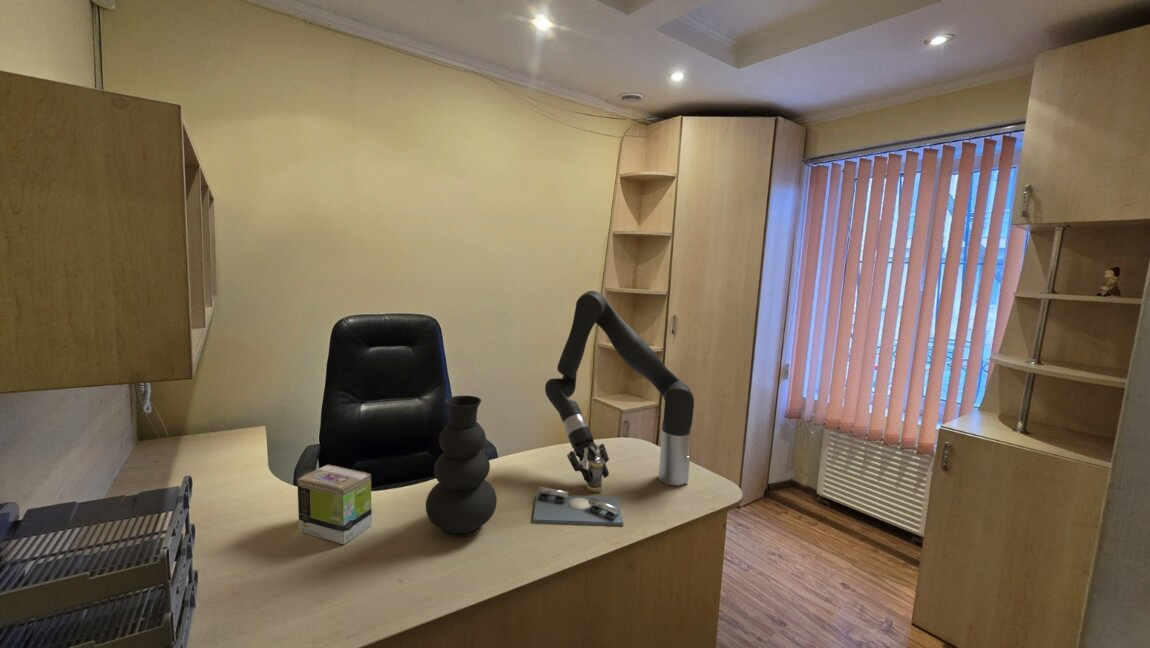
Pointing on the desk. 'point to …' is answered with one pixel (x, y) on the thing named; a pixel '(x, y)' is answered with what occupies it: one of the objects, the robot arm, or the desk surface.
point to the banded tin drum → (595, 474)
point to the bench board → (574, 511)
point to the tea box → (334, 503)
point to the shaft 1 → (552, 494)
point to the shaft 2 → (599, 506)
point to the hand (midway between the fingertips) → (598, 479)
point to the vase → (461, 473)
